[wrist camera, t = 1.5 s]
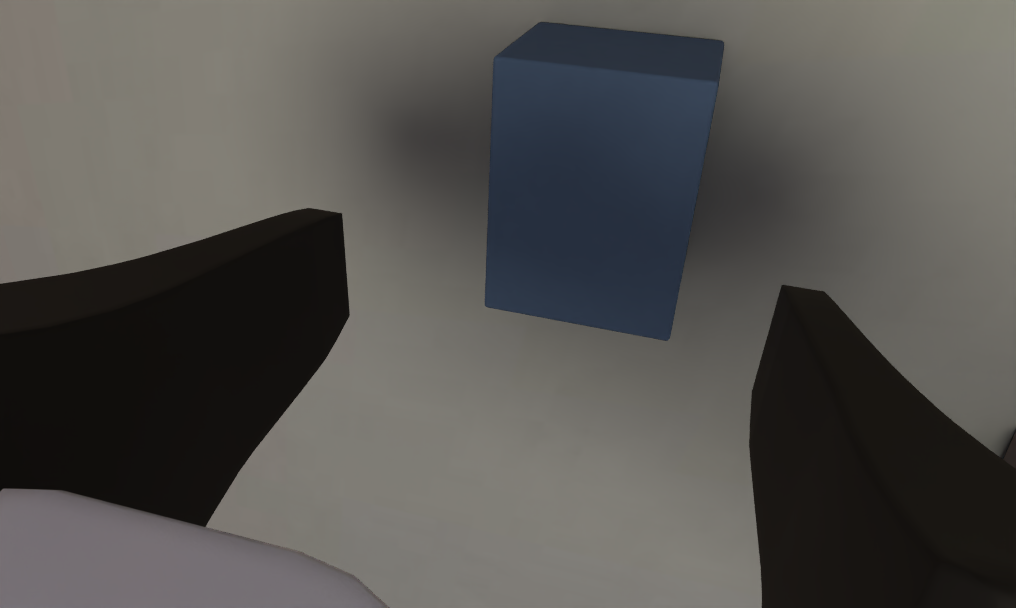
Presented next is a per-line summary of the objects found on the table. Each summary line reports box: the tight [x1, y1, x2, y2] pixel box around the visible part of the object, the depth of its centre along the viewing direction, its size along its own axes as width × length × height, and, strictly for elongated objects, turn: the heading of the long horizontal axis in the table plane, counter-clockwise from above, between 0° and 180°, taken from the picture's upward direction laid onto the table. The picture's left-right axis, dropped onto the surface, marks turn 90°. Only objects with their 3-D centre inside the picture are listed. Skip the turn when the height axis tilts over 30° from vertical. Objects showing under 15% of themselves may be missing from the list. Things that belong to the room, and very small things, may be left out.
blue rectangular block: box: [485, 22, 724, 341], centre depth 18 cm, size 6×4×4 cm
